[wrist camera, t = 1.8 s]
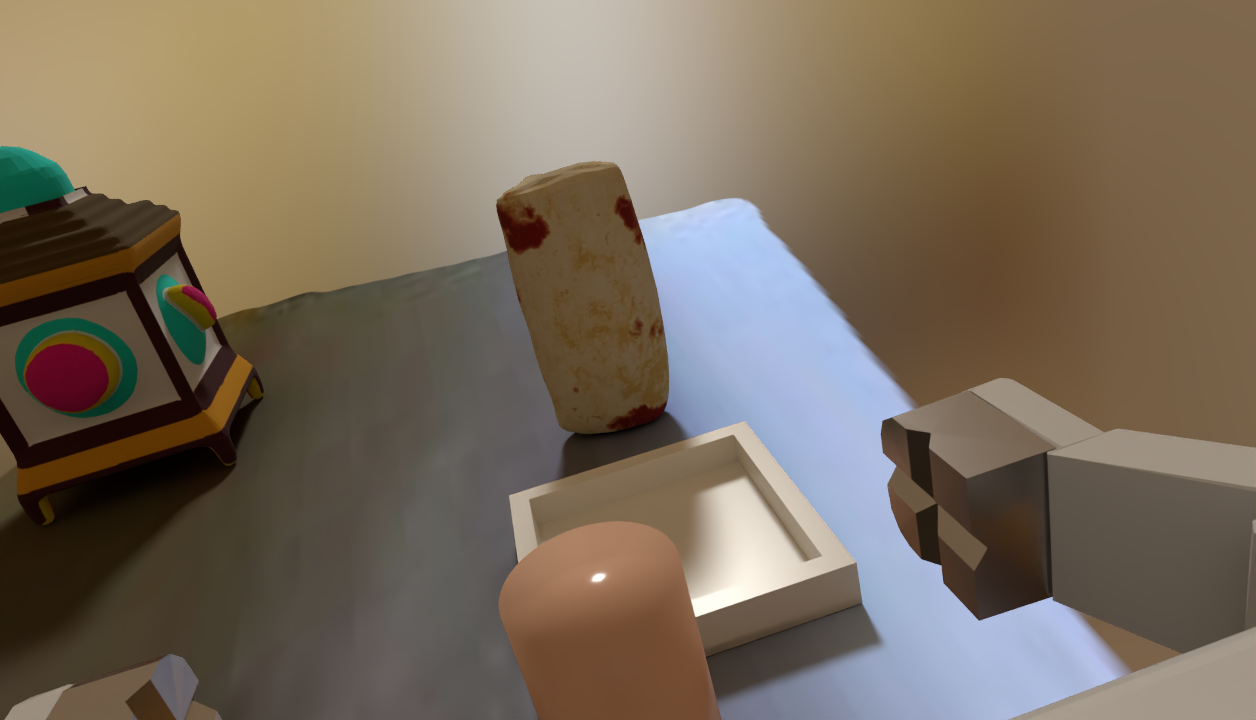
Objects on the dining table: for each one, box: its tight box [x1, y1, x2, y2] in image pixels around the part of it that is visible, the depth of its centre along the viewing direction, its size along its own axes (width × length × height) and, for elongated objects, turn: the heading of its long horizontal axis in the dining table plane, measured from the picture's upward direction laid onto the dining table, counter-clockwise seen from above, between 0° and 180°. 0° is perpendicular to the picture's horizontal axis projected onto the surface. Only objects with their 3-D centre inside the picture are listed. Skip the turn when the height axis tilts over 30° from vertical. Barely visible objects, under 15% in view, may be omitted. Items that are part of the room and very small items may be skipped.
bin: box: [509, 421, 862, 657], centre depth 46 cm, size 16×16×2 cm
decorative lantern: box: [0, 146, 264, 525], centre depth 73 cm, size 20×20×30 cm
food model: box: [496, 162, 669, 434], centre depth 59 cm, size 10×7×20 cm
